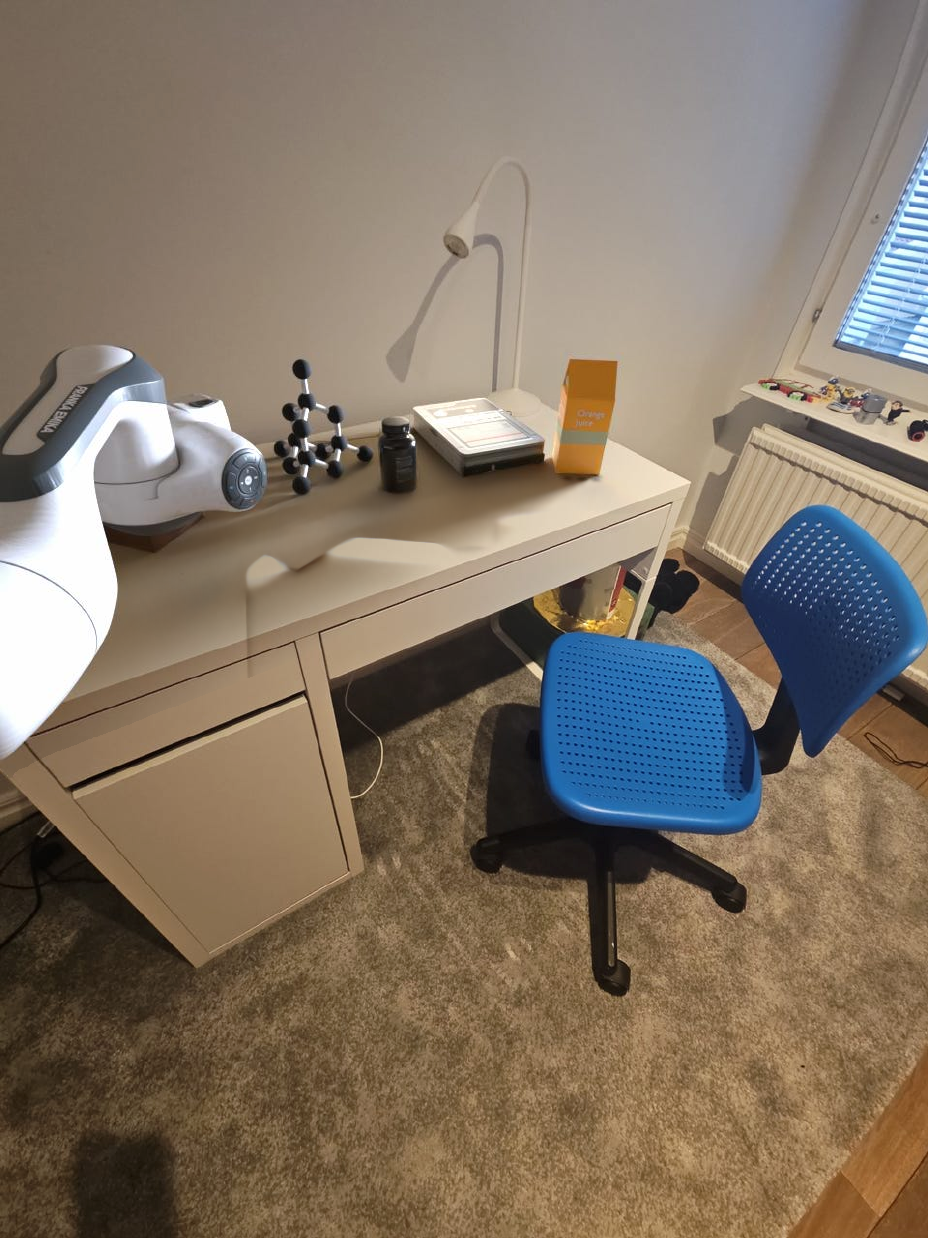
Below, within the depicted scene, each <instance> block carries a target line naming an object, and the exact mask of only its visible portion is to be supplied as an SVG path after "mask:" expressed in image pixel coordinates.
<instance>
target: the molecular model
mask: <svg viewBox="0 0 928 1238" xmlns="http://www.w3.org/2000/svg"><path fill="white" fill-rule="evenodd" d="M291 370H292V373H293V375H294V377H295V378H296V379H298V380H300V384H301V391H302V392H300V394H298V397H297V404H295V403H293V402H287V403H285V404H284V405H283V406H282V409H281V414H282V417H283V418H284V419H285V420H286V421H287V422H290V423H289V424H290V427H291V433H289V435H288V437H287V441H286V440H283V439H280V440H277V441H276V442H275V443H274V444H273V452H274V454H275V455H276V456H277V457H279V458H284V459H283V461H282V464H281V467H282V470H283V471H284V472H285V473H286V474H288V475H290V476H293V475H297V474H298V473H299V472H300V474H299V476H296V477H294V478H293V480H292V482H291V488H292V490H293V492H294V493H296V495H297V494H298V495H300V496H303V495H307V494H308V493H310V491H311V487H312V485H311V481H310V480H309V478H307V474H308V470H309V468H312V467H313V466H317V467H319V468H323V469H325V471H326V474H327V475H328V476H329V477H330V478H333V479H338V478H340V477H342V476H343V474H344V470H345V469H344V465H343V464H342V462H341V461H340V458H341V453H342V452H344V451H348V452H352V453H354V454H356V457H357V459H358V460H359V461H360V462H362V463H369V462H371V461H372V460H373V458H374V451H373V449H372V448H371V447H370V446H369V445H365V444H364V445H360V446H359V447H356V446H353V445H350V444H349V443H348V439H347V437H346V436H345V435H343V434H342V432H341V423H342V422H344V420H345V417H346V416H345V415H346V414H345V410H344V409H343V408H342V407H341V406H340V405H337V404H332V405H330V406H329V407H327V406H323V405H322V404H318V403H317V398H316V396H315V395H314V394H313V393H311V392H310V391H309V386H308V379H309V378H310V377H311V376H312V372H313V368H312V365H311V363H310V362H309V361H308V360H306V359H305V358H304V359H303V358H299V359H296V360H294V362H293V363H292V366H291ZM314 410H316V411H318V412H320V413H323V414H325V415H326V418H327V419H328V422H330V423H331V424H333V426H334V427H333V428H334V435H333V436H331V439H330V444H329V443H326V442H320V443H318V444H316V445H315V444H312V443H310V442H308V440H307V438H309V436H310V435H311V434H312V426H311V423H310V422H309V421H307V420H308V416H309V412H313V411H314ZM298 450H299V452H298ZM332 451H334V455H333V459H332V460H329V458H331V456H332V453H333V452H332ZM289 455H290V456H289ZM317 458H318V459H317ZM325 460H329V461H328V463H327V462H325ZM300 470H301V471H300Z"/></svg>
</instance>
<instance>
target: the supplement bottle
mask: <svg viewBox="0 0 928 1238" xmlns="http://www.w3.org/2000/svg"><path fill="white" fill-rule="evenodd" d="M410 432H411V428H410V420H409V419H408V418H406V417H403V416H388V417H385V418H383V419H381V435H380V436H379V437H378V440H377V442H376V443H377V444H376V445H377V455H378V469H379V476H380V477H379V478H380V485H381V487H382V488H383V489H384V490H385V491H387V492H389V493H398V494H401V493H407V492H410V491H412V490H414V489H415V488H416V487H417V484H418V460H417V441H416V438H415V436H413V435H412V434H411V433H410Z"/></svg>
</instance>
